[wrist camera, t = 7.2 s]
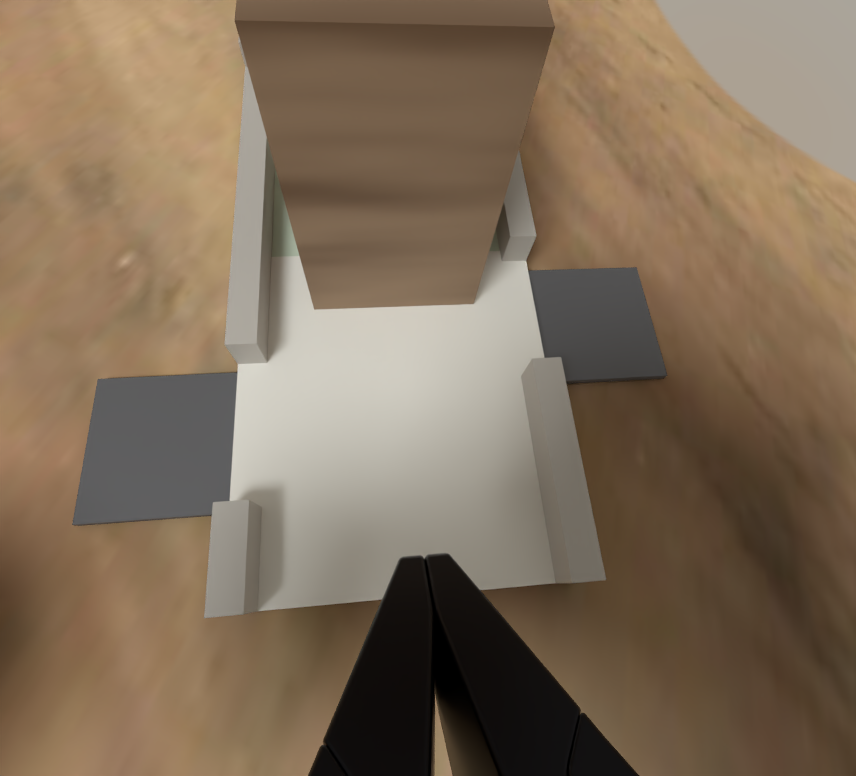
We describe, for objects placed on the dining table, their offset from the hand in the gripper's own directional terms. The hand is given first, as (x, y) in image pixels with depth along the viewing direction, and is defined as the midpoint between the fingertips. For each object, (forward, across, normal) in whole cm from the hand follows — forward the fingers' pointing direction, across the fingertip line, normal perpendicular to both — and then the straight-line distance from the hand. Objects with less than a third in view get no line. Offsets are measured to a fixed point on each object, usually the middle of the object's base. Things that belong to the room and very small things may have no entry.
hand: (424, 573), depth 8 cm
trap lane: (+13, 0, -2) cm, 13 cm away
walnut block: (+15, 0, -5) cm, 16 cm away
